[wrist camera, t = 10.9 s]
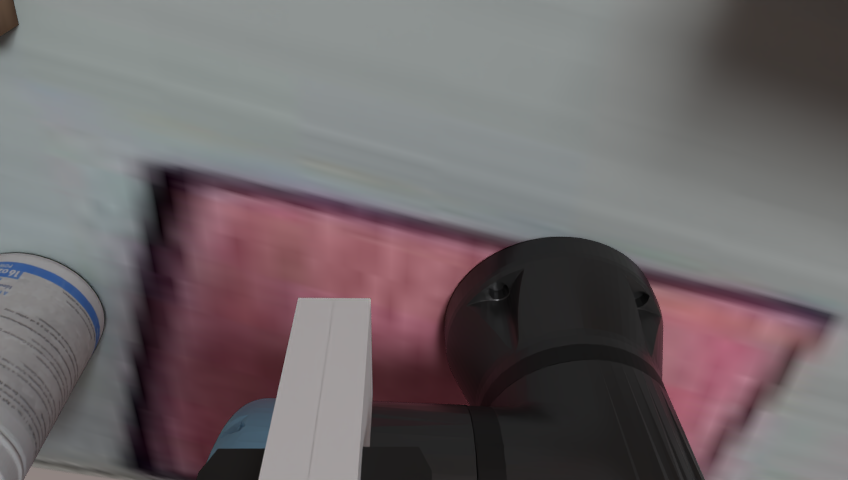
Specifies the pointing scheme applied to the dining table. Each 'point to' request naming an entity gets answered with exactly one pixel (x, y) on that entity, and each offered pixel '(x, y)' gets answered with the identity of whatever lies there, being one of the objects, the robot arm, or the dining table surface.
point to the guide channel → (7, 16)
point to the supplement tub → (40, 351)
